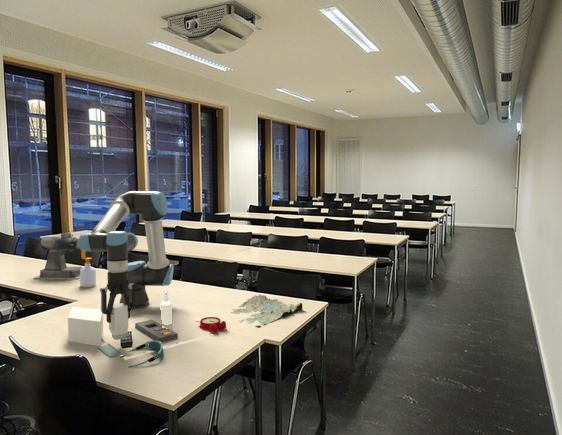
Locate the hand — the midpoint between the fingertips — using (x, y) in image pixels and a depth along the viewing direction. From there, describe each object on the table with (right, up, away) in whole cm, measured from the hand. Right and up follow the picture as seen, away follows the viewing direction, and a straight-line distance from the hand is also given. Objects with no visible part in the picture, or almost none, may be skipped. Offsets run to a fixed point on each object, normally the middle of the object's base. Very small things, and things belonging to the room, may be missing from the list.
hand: (118, 328), depth 166 cm
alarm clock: (+33, -7, +24) cm, 42 cm away
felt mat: (0, -8, +1) cm, 8 cm away
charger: (0, -4, 0) cm, 4 cm away
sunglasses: (+12, -10, -7) cm, 17 cm away
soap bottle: (-59, 0, +101) cm, 117 cm away
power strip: (+8, -7, +19) cm, 21 cm away
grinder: (-89, +3, +126) cm, 155 cm away
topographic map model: (+53, -6, +50) cm, 74 cm away
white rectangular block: (-19, -7, +13) cm, 24 cm away
